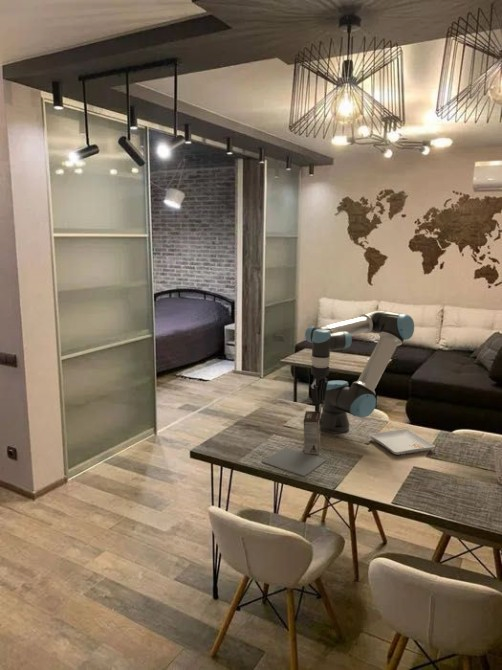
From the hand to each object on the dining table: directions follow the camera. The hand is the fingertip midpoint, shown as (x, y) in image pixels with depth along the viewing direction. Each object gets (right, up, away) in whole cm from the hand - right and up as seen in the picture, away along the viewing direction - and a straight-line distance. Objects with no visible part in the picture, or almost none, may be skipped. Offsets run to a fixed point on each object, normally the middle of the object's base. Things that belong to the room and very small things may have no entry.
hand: (317, 417), depth 219 cm
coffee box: (-2, -14, 0) cm, 14 cm away
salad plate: (+38, -14, +6) cm, 41 cm away
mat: (-11, -16, -12) cm, 23 cm away
